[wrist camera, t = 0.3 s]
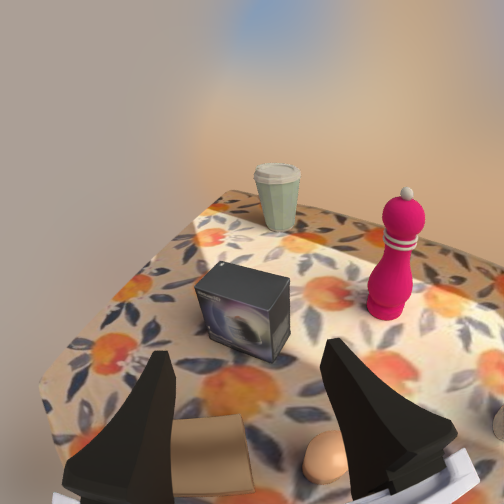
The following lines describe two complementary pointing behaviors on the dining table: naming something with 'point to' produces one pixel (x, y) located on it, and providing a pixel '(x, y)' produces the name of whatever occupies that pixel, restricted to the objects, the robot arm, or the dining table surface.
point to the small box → (246, 309)
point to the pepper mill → (395, 257)
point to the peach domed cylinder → (325, 458)
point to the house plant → (499, 424)
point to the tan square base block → (210, 457)
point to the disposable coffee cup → (278, 194)
